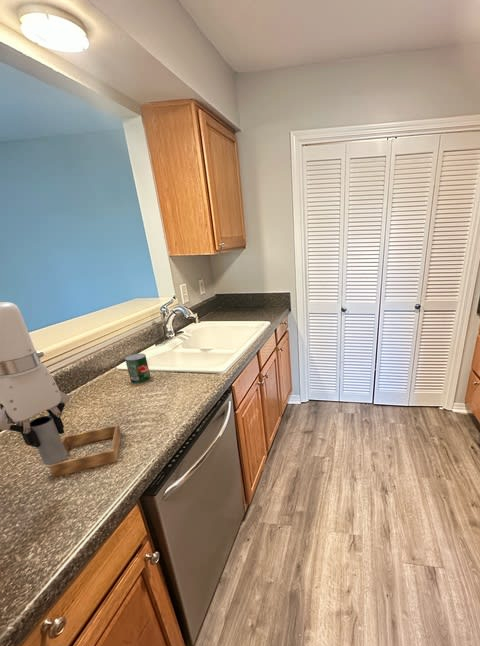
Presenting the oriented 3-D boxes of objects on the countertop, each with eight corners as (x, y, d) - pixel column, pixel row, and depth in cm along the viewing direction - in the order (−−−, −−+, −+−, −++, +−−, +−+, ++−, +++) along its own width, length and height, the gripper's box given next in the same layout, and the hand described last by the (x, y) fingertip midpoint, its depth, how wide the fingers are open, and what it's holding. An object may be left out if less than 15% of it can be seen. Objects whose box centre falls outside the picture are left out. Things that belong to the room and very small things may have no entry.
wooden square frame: (53, 477, 83) (48, 466, 81) (66, 446, 95) (62, 436, 94) (117, 461, 88) (113, 450, 87) (121, 433, 100) (118, 424, 99)
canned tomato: (132, 378, 141) (126, 354, 137) (152, 375, 143) (146, 352, 139) (129, 385, 134) (123, 361, 130) (150, 382, 136) (144, 358, 132)
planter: (61, 463, 73) (45, 425, 69) (39, 466, 73) (22, 427, 69) (70, 451, 77) (56, 414, 74) (50, 454, 77) (34, 417, 73)
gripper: (47, 349, 75) (72, 417, 82) (-47, 378, 60) (-7, 458, 67) (68, 352, 72) (93, 422, 79) (-25, 383, 57) (15, 466, 64)
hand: (46, 438), depth 73 cm, fingers closed on planter, 4 cm apart
